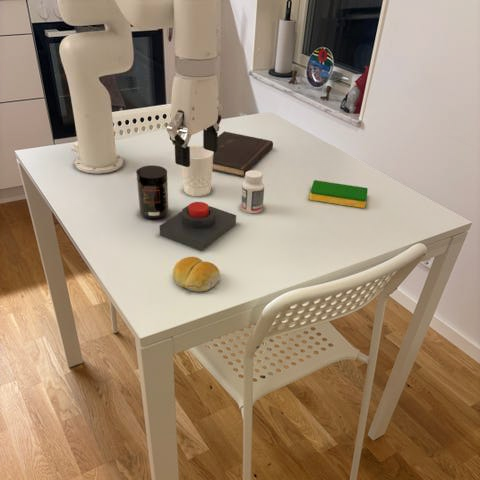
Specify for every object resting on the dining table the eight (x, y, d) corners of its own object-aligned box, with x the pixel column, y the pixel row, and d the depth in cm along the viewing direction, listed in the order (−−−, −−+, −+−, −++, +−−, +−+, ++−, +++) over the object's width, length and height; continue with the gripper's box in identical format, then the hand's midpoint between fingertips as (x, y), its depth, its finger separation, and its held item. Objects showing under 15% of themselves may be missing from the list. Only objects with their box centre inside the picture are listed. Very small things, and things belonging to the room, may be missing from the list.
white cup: (208, 199, 127) (208, 160, 120) (177, 195, 128) (176, 156, 121) (215, 186, 133) (216, 148, 126) (186, 182, 134) (185, 144, 127)
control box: (159, 235, 112) (158, 217, 110) (196, 211, 122) (196, 193, 119) (201, 251, 108) (201, 232, 106) (235, 224, 118) (236, 206, 115)
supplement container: (167, 206, 123) (165, 164, 116) (170, 220, 118) (169, 177, 111) (138, 208, 121) (135, 166, 115) (141, 222, 116) (137, 179, 110)
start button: (184, 214, 112) (184, 207, 111) (196, 207, 115) (196, 199, 114) (201, 220, 110) (201, 213, 109) (212, 212, 113) (212, 205, 112)
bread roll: (189, 262, 105) (189, 245, 102) (225, 278, 101) (226, 261, 99) (163, 281, 99) (162, 264, 97) (200, 298, 96) (200, 280, 93)
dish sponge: (312, 188, 135) (314, 179, 133) (365, 196, 133) (367, 187, 131) (309, 200, 129) (310, 191, 128) (364, 208, 127) (366, 199, 126)
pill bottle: (265, 206, 126) (268, 171, 120) (258, 215, 122) (261, 180, 116) (244, 201, 127) (246, 167, 121) (237, 211, 123) (239, 175, 117)
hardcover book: (190, 165, 142) (190, 157, 140) (224, 138, 158) (224, 131, 157) (244, 177, 137) (244, 169, 136) (272, 148, 154) (273, 141, 153)
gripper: (205, 54, 101) (205, 141, 112) (149, 72, 89) (155, 166, 100) (238, 61, 98) (234, 149, 109) (184, 79, 86) (187, 176, 97)
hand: (196, 157), depth 105 cm, fingers open, 9 cm apart
